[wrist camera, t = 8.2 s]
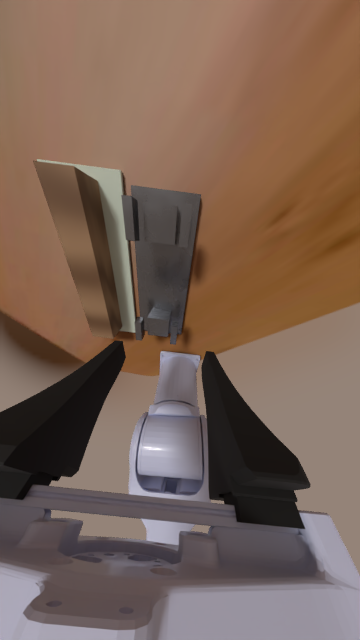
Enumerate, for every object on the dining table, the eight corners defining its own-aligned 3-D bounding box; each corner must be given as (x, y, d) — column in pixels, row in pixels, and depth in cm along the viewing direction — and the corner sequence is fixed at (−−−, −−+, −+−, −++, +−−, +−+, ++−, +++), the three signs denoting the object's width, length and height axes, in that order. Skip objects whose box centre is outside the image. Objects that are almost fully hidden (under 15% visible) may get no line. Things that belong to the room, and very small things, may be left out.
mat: (137, 331, 23) (136, 332, 23) (93, 326, 23) (91, 327, 23) (122, 171, 13) (120, 170, 12) (40, 161, 13) (36, 159, 12)
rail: (122, 326, 23) (113, 338, 20) (104, 324, 23) (92, 336, 20) (97, 181, 13) (73, 166, 10) (65, 177, 13) (33, 160, 10)
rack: (181, 332, 23) (179, 352, 19) (142, 327, 23) (132, 346, 19) (200, 196, 13) (205, 177, 9) (133, 187, 13) (108, 164, 9)
